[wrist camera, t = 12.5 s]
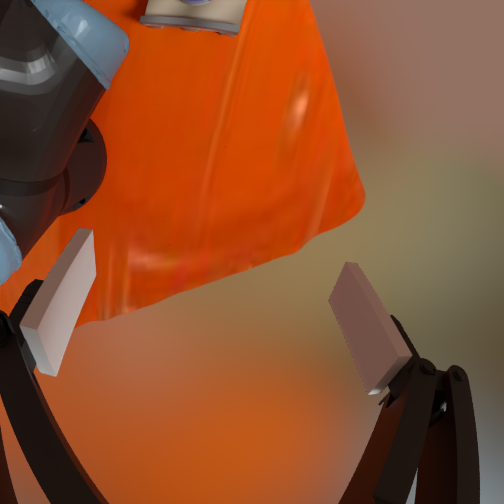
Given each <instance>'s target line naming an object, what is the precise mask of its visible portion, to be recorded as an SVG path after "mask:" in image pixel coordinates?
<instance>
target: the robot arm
mask: <svg viewBox="0 0 504 504" xmlns="http://www.w3.org/2000/svg"><path fill="white" fill-rule="evenodd" d="M128 50H129V39H128V36H127V34H126V33H125V32H124V31H123V30H122V29H121V28H120V27H119V26H118V25H116V24H115V23H114V22H113V21H111V20H110V19H109V18H107V17H106V16H104V15H103V14H102V13H100V12H99V11H97V10H96V9H94V8H93V7H91V6H90V5H88V4H87V3H85V2H84V1H82V0H0V285H2V284H3V283H4V282H6V281H7V280H8V278H9V277H10V276H11V275H12V274H13V273H14V271H16V270H18V269H19V267H20V266H21V264H22V261H23V259H24V258H25V257H26V255H27V254H28V253H29V251H30V250H31V249H32V248H33V246H34V245H35V244H36V242H37V241H38V240H39V239H40V237H41V236H42V235H43V234H44V232H45V231H46V230H47V229H48V228H49V226H50V225H51V224H52V223H53V222H54V221H55V219H56V218H57V217H58V216H61V215H64V214H67V213H70V212H73V211H75V210H77V209H79V208H81V207H82V206H83V205H85V204H86V203H87V202H88V201H89V200H90V199H91V198H92V196H93V195H94V194H95V193H96V192H97V190H98V189H99V187H100V185H101V183H102V181H103V179H104V175H105V171H106V165H107V154H106V147H105V143H104V140H103V137H102V135H101V133H100V131H99V129H98V128H97V126H96V125H95V123H94V122H93V121H92V120H91V119H90V117H91V115H92V113H93V111H94V110H95V108H96V106H97V104H98V103H99V101H100V99H101V98H102V96H103V94H104V93H105V91H106V90H109V88H110V86H111V84H110V82H111V80H112V79H113V77H114V75H115V73H116V72H117V70H118V68H119V67H120V65H121V64H122V62H123V60H124V59H125V57H126V55H127V53H128ZM95 276H96V267H95V256H94V242H93V230H92V229H84V228H79V229H78V230H77V232H76V233H75V234H74V236H73V237H72V239H71V240H70V242H69V243H68V245H67V246H66V248H65V249H64V250H63V252H62V253H61V255H60V257H59V258H58V260H57V261H56V263H55V264H54V266H53V267H52V269H51V271H50V272H49V274H48V275H47V277H46V279H45V280H44V281H43V280H38V279H35V280H34V281H32V282H31V283H30V284H29V285H27V287H26V288H25V290H24V291H23V293H22V296H20V298H19V300H18V303H16V305H15V306H14V308H13V310H12V312H11V313H10V315H9V317H8V316H7V314H6V313H5V312H3V311H1V310H0V395H1V398H2V401H3V404H4V407H5V410H6V412H7V415H8V418H9V420H10V423H11V426H12V428H13V430H14V433H15V435H16V438H17V440H18V442H19V444H20V446H21V449H22V451H23V453H24V455H25V458H26V460H27V462H28V463H29V466H30V467H31V469H32V471H33V473H34V475H35V477H36V479H37V481H38V483H39V484H40V486H41V488H42V490H43V491H44V493H45V495H46V497H47V498H48V500H49V502H50V503H51V504H109V503H108V502H107V500H106V499H105V498H104V496H103V495H102V494H101V492H100V491H99V490H98V488H97V487H96V485H95V484H94V483H93V481H92V480H91V478H90V477H89V475H88V474H87V473H86V471H85V469H84V468H83V466H82V465H81V463H80V462H79V460H78V458H77V457H76V455H75V453H74V452H73V450H72V448H71V447H70V445H69V443H68V442H67V440H66V438H65V436H64V435H63V433H62V431H61V429H60V427H59V425H58V424H57V422H56V420H55V418H54V416H53V414H52V412H51V410H50V408H49V406H48V403H47V401H46V399H45V397H44V395H43V393H42V391H41V388H40V386H39V384H38V381H37V379H36V377H35V374H34V372H33V371H34V368H35V366H36V365H37V367H38V369H39V371H40V372H41V373H44V374H48V375H52V376H57V373H58V370H59V367H60V364H61V361H62V358H63V355H64V353H65V350H66V347H67V344H68V342H69V339H70V336H71V334H72V331H73V328H74V326H75V323H76V321H77V318H78V316H79V313H80V311H81V308H82V306H83V304H84V301H85V299H86V297H87V294H88V292H89V290H90V288H91V285H92V283H93V281H94V279H95ZM328 301H329V303H330V305H331V307H332V310H333V312H334V314H335V316H336V319H337V321H338V324H339V326H340V328H341V331H342V333H343V335H344V338H345V340H346V342H347V345H348V347H349V350H350V352H351V354H352V357H353V359H354V362H355V364H356V367H357V369H358V371H359V374H360V376H361V379H362V381H363V384H364V386H365V389H366V392H367V394H368V395H370V394H377V393H381V392H382V391H383V390H384V389H385V388H386V387H387V386H388V387H389V389H390V392H389V393H388V394H387V395H386V396H385V397H384V398H383V399H382V400H381V401H380V403H379V405H381V404H382V403H383V402H384V404H383V407H382V409H381V412H380V415H379V417H378V420H377V422H376V425H375V427H374V430H373V432H372V435H371V437H370V440H369V442H368V444H367V446H366V449H365V451H364V453H363V455H362V458H361V460H360V462H359V464H358V466H357V468H356V471H355V473H354V475H353V477H352V479H351V481H350V483H349V485H348V486H347V489H346V490H345V492H344V494H343V496H342V498H341V500H340V501H339V503H338V504H406V501H407V498H408V495H409V493H410V490H411V486H412V484H413V480H414V478H415V474H416V471H417V468H418V472H417V486H416V495H415V503H414V504H480V472H479V455H478V442H477V432H476V423H475V416H474V409H473V403H472V397H471V391H470V386H469V380H468V377H467V374H466V372H465V371H464V370H463V369H462V368H461V367H459V366H456V365H452V366H450V368H449V369H448V370H447V371H440V370H437V369H436V367H435V366H434V365H433V363H432V362H430V361H429V360H427V359H424V358H420V356H419V355H418V353H417V351H416V349H415V348H414V346H413V344H412V343H411V341H410V339H409V338H408V336H407V334H406V332H405V331H404V329H403V327H402V325H401V324H400V322H399V321H398V320H397V319H396V318H395V317H394V316H393V315H389V313H388V312H387V310H386V308H385V307H384V305H383V303H382V302H381V300H380V299H379V297H378V295H377V294H376V292H375V290H374V289H373V287H372V285H371V284H370V282H369V281H368V279H367V278H366V276H365V275H364V273H363V271H362V270H361V268H360V267H359V265H358V264H357V263H351V262H345V265H344V267H343V269H342V271H341V274H340V276H339V278H338V280H337V283H336V285H335V287H334V289H333V291H332V294H331V295H330V298H329V300H328ZM445 405H446V411H445V412H444V409H443V407H444V406H445ZM0 504H18V502H17V499H16V496H15V492H14V489H13V485H12V481H11V478H10V474H9V470H8V465H7V461H6V456H5V451H4V446H3V440H2V434H1V427H0Z"/></svg>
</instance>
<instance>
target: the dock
mask: <svg viewBox="0 0 504 504" xmlns="http://www.w3.org/2000/svg"><path fill="white" fill-rule="evenodd" d="M246 1H247V0H213V1H211V2H209V3H207V4H204V5H198V6H194V5H188V4H185V3H183V2H182V1H180V0H148V4H147V8H146V12H145V16H141V17H140V23H141V24H143V25H146V26H147V27H149V28H164V26H167V27H179V28H183V29H184V30H187V31H196V32H199V30H206V31H214V32H220V35H225V36H231V37H235V35H238V33H239V29H240V23H241V20H242V16H243V12H244V8H245V5H246Z"/></svg>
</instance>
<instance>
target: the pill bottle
mask: <svg viewBox="0 0 504 504" xmlns="http://www.w3.org/2000/svg"><path fill="white" fill-rule="evenodd" d="M180 1H182V2H183V3H185V4H188V5H194V6H198V5H204V4H207V3H209V2H211V1H213V0H180Z"/></svg>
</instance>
